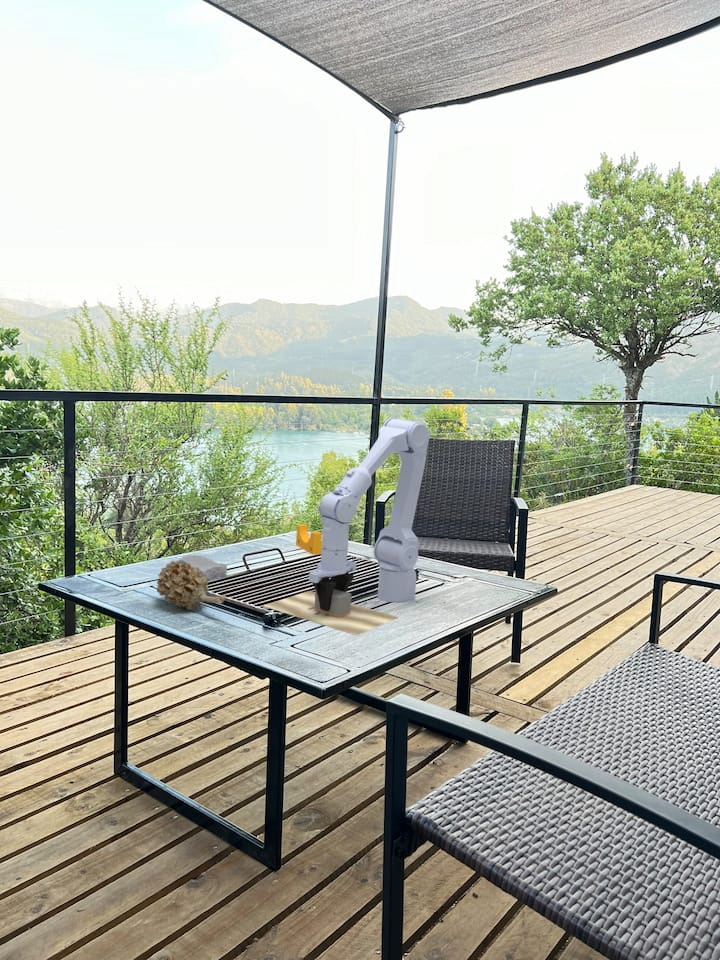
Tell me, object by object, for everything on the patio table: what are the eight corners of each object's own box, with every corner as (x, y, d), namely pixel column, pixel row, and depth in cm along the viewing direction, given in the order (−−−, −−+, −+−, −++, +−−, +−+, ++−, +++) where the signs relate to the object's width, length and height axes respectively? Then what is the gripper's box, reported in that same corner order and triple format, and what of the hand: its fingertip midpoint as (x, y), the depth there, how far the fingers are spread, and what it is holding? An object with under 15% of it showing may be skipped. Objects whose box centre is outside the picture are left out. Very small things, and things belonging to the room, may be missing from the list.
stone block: (204, 572, 211) (173, 571, 204) (208, 555, 211) (177, 553, 204) (230, 585, 203) (199, 583, 196) (234, 567, 203) (203, 565, 195)
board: (308, 597, 189) (308, 590, 189) (398, 623, 174) (398, 616, 174) (262, 612, 176) (262, 605, 176) (355, 642, 161) (356, 635, 161)
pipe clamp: (326, 554, 231) (327, 532, 230) (312, 555, 229) (313, 533, 228) (308, 544, 242) (310, 524, 240) (296, 545, 239) (297, 524, 238)
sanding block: (325, 606, 178) (326, 586, 177) (350, 613, 174) (351, 593, 173) (314, 610, 175) (315, 590, 174) (339, 617, 171) (340, 597, 170)
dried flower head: (143, 603, 177) (143, 561, 175) (175, 594, 185) (176, 553, 183) (213, 627, 165) (215, 581, 163) (245, 616, 173) (246, 572, 171)
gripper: (340, 539, 181) (336, 596, 183) (299, 549, 169) (296, 610, 171) (365, 545, 177) (361, 603, 179) (325, 556, 165) (321, 618, 167)
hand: (331, 607), depth 175 cm, fingers closed on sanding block, 4 cm apart
